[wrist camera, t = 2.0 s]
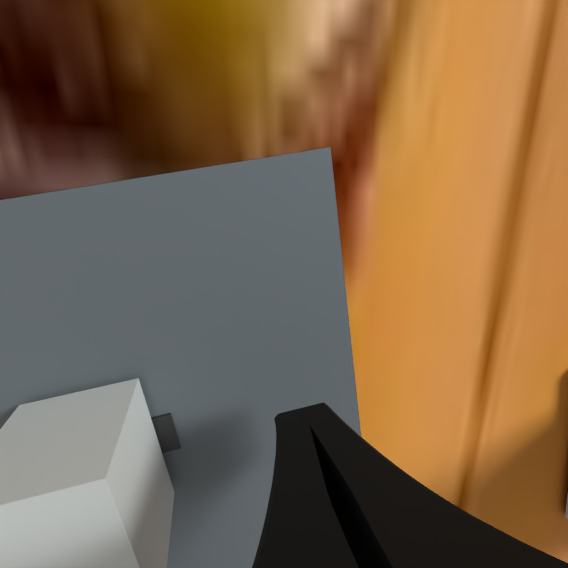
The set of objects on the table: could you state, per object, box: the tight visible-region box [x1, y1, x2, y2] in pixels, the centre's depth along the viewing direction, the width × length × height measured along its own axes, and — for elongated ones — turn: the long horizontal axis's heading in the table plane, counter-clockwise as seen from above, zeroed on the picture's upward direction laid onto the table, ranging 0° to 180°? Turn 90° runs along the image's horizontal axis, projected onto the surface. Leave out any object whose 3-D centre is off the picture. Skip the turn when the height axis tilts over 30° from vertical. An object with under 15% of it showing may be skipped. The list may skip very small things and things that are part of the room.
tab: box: [0, 378, 174, 568], centre depth 9 cm, size 3×4×4 cm
